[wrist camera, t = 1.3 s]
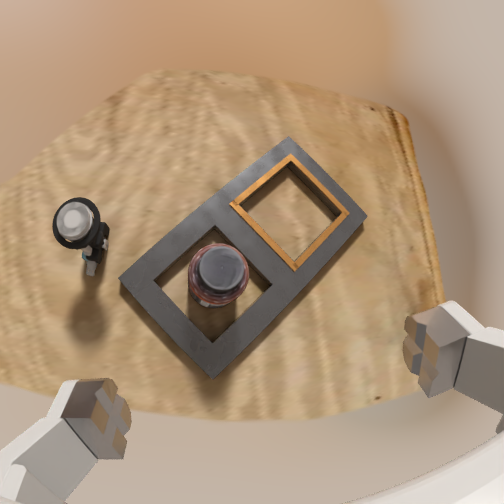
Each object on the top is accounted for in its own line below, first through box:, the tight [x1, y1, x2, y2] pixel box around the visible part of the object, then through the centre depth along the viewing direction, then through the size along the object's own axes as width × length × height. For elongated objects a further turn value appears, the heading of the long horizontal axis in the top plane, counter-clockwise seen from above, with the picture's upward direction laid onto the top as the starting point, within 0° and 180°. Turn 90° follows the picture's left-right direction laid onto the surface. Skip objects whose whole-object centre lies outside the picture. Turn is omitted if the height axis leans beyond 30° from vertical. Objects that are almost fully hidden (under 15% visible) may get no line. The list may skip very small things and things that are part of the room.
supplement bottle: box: [188, 243, 249, 308], centre depth 34 cm, size 6×6×11 cm
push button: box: [53, 197, 110, 276], centre depth 32 cm, size 7×5×10 cm
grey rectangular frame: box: [118, 136, 367, 379], centre depth 40 cm, size 16×30×2 cm, turn 135°
